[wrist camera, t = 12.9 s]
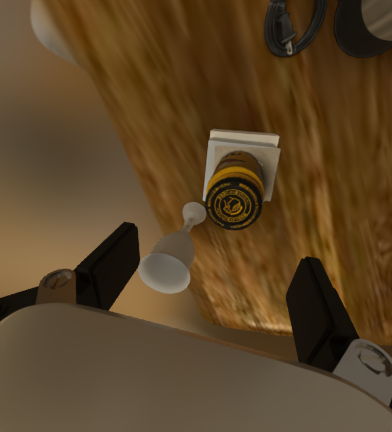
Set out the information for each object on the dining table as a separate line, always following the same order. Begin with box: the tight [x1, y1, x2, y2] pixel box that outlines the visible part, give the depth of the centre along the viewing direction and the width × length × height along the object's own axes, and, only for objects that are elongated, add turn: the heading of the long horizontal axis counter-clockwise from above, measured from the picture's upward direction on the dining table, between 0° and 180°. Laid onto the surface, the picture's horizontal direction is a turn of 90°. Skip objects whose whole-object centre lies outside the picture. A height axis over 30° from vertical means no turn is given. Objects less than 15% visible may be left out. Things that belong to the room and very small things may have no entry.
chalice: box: [138, 202, 206, 293], centre depth 34 cm, size 7×7×18 cm
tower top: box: [203, 137, 277, 201], centre depth 31 cm, size 9×9×4 cm
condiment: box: [205, 146, 281, 230], centre depth 24 cm, size 7×8×12 cm
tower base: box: [210, 129, 279, 147], centre depth 34 cm, size 10×10×4 cm
